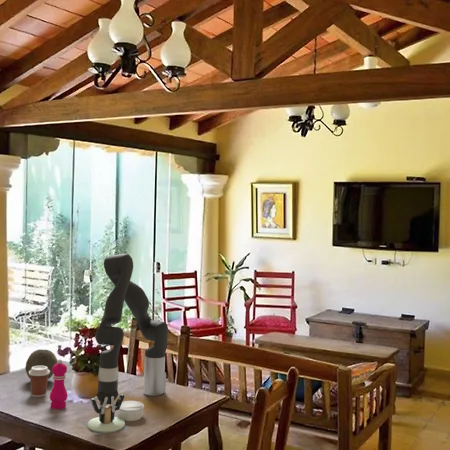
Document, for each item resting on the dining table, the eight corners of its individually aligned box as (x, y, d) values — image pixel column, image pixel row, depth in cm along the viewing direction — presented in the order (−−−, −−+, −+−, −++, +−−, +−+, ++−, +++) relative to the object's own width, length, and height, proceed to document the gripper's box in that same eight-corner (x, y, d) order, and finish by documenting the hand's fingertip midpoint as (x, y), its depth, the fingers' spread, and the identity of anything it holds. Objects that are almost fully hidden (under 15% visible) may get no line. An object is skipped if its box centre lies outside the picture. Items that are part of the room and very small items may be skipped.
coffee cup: (51, 391, 273) (52, 365, 272) (46, 398, 263) (47, 371, 263) (31, 390, 272) (32, 364, 272) (25, 397, 263) (26, 370, 263)
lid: (116, 416, 244) (117, 399, 244) (130, 428, 232) (131, 410, 232) (82, 422, 237) (83, 404, 236) (95, 435, 225) (96, 416, 224)
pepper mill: (62, 410, 249) (63, 362, 248) (46, 408, 251) (47, 361, 250) (70, 405, 256) (71, 358, 255) (54, 403, 258) (56, 356, 257)
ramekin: (131, 425, 237) (131, 412, 237) (110, 418, 243) (110, 405, 243) (149, 417, 247) (149, 404, 247) (128, 411, 253) (129, 398, 252)
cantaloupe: (51, 386, 279) (52, 354, 278) (20, 385, 279) (21, 353, 279) (60, 377, 293) (61, 347, 293) (31, 376, 293) (32, 345, 293)
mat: (116, 417, 244) (116, 416, 244) (130, 429, 232) (130, 428, 232) (82, 423, 236) (82, 422, 236) (95, 436, 225) (95, 435, 225)
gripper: (121, 373, 240) (119, 416, 241) (87, 377, 233) (85, 421, 234) (129, 378, 234) (127, 422, 235) (94, 383, 227) (92, 428, 227)
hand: (106, 421), depth 234 cm, fingers closed on lid, 3 cm apart
